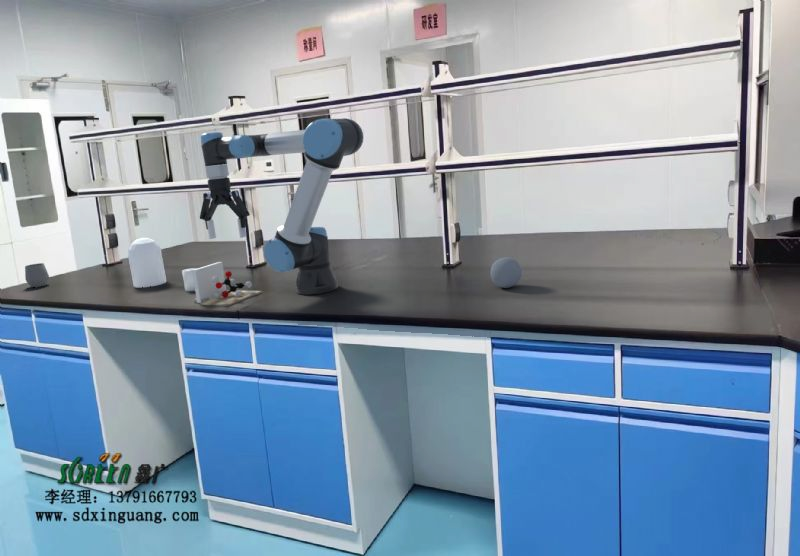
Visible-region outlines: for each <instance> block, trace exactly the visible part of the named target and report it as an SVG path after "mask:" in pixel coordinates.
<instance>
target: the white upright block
mask: <svg viewBox="0 0 800 556" xmlns="http://www.w3.org/2000/svg"><path fill="white" fill-rule="evenodd" d="M198 268H199V267H191V268H186V269H182V270H181V273H182V279H183V283H184V284H183V286H184V290H185V292H195V286H194V280H193V274H192V270H194V269H198Z"/></svg>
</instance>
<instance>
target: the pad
mask: <svg viewBox="0 0 800 556" xmlns="http://www.w3.org/2000/svg"><path fill="white" fill-rule="evenodd" d="M241 292H242V295H241V296H240V297H238V296H236V292H230V293H228V296H227V297H223V296H220V298H212V299H210V300H207V301H204V302H202V303H199V304H200V306H217V307H218V306H223V307H230V306H233V305H236V304H237V303H239V302H242V301H244V300H247V299H249V298H251V297H255V296H257V295H259V294H260V295H261V294H262V292H263V291H262V290H242V291H241Z"/></svg>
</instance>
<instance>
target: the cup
mask: <svg viewBox="0 0 800 556" xmlns="http://www.w3.org/2000/svg"><path fill="white" fill-rule="evenodd" d="M24 271H25V274H24V276H25V277H24V278H25V282H26V283H27V284H28V285H29V287H30V288H33V287H35V288H42V287H45V286H47V284H48V282H49V280H50V275H49V272H48V270H47V268H46V266H45V263H43V262H42V263H33V264H29V265H27V264H26V265H25V267H24ZM41 286H42V287H41Z"/></svg>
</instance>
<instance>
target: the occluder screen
mask: <svg viewBox="0 0 800 556" xmlns="http://www.w3.org/2000/svg"><path fill="white" fill-rule="evenodd" d="M197 268H198V269H194V270H192V274H193V280H194V286H195V291H194V292H195V298H194V299H193V302H194V303H197V304H200V303H202V302H204V301H207V300H210V299H212V298H215V296H214V294H215V293H216V292H219V293H220V294H221V293H222V292H223V291H227V292H228V291H230V289H229V290H228V289H227V285H225V284H224V285H222V287H221V288H219V289H218V288H216V283H214V282H213V281H212V278H213V277H215V276H216V277H218V278H219V281H218V282H220V283H223V282H224V280H225V279H226V278H225V277H226V275H225V270H224V265H223V261H217V262H214V263H211V264H208V265H205V266H202V267H197Z"/></svg>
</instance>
